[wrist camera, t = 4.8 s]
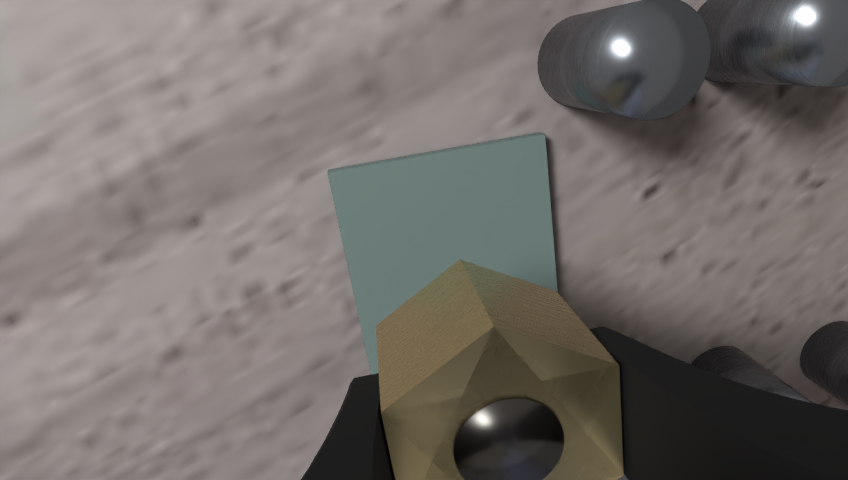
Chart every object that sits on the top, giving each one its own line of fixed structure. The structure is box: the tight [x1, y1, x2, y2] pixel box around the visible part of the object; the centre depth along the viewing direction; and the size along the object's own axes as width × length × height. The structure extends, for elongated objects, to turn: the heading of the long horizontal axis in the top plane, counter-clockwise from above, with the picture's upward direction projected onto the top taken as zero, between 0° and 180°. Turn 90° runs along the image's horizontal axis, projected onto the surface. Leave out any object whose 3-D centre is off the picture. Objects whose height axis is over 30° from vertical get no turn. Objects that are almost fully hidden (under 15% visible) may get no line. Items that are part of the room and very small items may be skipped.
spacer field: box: [538, 0, 848, 480], centre depth 18 cm, size 16×13×4 cm
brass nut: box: [376, 259, 624, 480], centre depth 12 cm, size 5×5×4 cm
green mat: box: [328, 132, 558, 375], centre depth 19 cm, size 9×7×1 cm
